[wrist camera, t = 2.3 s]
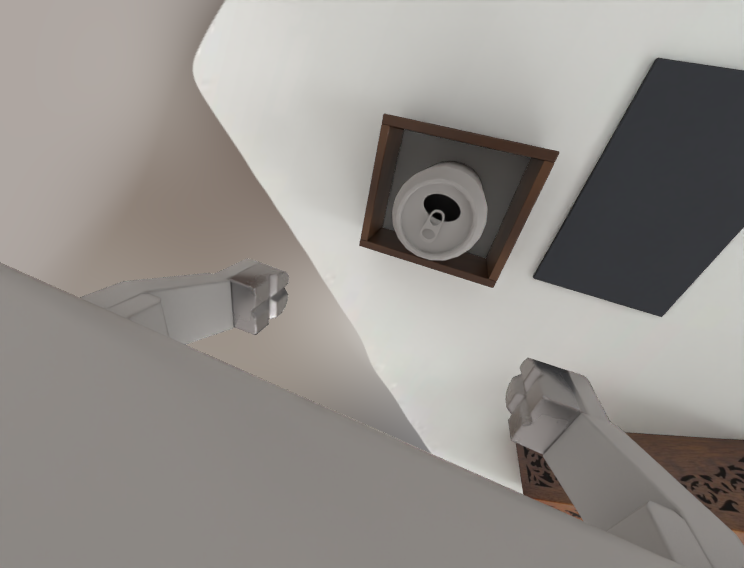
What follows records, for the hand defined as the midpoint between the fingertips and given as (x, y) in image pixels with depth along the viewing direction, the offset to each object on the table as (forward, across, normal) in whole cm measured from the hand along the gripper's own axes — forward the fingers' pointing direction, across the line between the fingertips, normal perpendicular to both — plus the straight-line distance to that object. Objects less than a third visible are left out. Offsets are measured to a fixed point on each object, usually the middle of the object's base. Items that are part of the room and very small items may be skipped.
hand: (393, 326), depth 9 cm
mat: (+26, -18, -4) cm, 32 cm away
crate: (+26, 0, -1) cm, 26 cm away
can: (+26, 0, -1) cm, 26 cm away
